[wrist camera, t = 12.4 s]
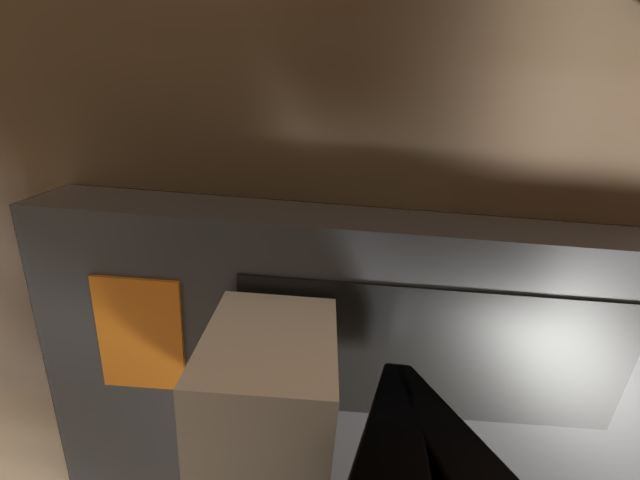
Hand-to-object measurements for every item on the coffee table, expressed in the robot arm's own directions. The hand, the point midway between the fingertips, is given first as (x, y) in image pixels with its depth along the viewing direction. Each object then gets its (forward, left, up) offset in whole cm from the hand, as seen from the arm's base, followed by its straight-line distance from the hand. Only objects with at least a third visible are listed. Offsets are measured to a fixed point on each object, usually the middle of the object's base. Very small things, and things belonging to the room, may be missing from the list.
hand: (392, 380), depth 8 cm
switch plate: (-9, 0, -3) cm, 10 cm away
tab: (0, +3, -1) cm, 3 cm away
